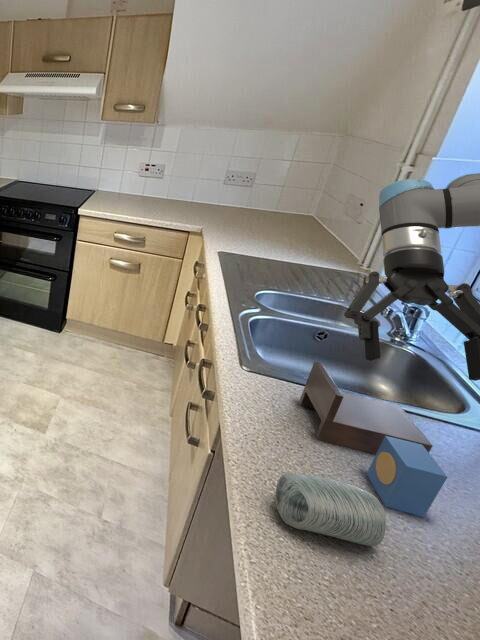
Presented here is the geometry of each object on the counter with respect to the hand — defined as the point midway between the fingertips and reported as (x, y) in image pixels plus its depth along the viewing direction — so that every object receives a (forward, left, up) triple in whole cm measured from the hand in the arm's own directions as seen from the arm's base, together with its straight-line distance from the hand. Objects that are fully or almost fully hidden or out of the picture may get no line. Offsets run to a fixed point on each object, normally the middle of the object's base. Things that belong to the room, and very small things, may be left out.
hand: (424, 368), depth 69 cm
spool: (+14, +19, -22) cm, 32 cm away
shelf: (0, -9, -22) cm, 23 cm away
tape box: (0, +7, -22) cm, 23 cm away
